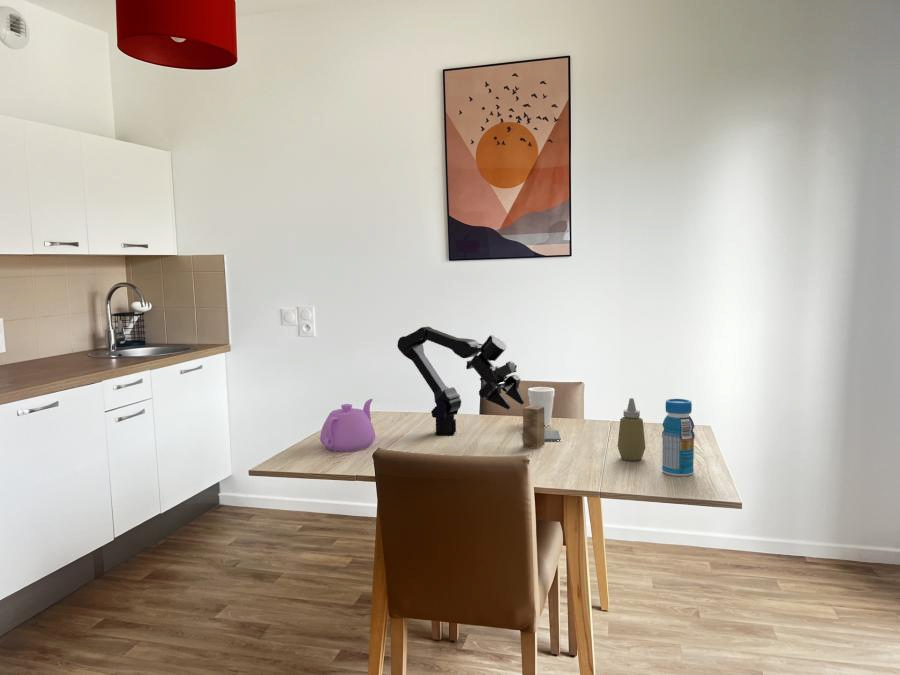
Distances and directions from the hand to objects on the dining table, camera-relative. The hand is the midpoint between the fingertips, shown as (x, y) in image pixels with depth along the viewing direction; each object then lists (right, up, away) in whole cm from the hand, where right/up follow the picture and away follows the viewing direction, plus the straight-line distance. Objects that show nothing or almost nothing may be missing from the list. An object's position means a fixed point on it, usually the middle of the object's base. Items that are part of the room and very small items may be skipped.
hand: (516, 406), depth 223 cm
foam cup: (+12, -10, +28) cm, 32 cm away
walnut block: (+5, -13, -2) cm, 14 cm away
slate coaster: (+9, -11, +9) cm, 17 cm away
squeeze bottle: (+32, -14, -20) cm, 40 cm away
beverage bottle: (+41, -15, -34) cm, 55 cm away
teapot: (-54, -13, +4) cm, 56 cm away
